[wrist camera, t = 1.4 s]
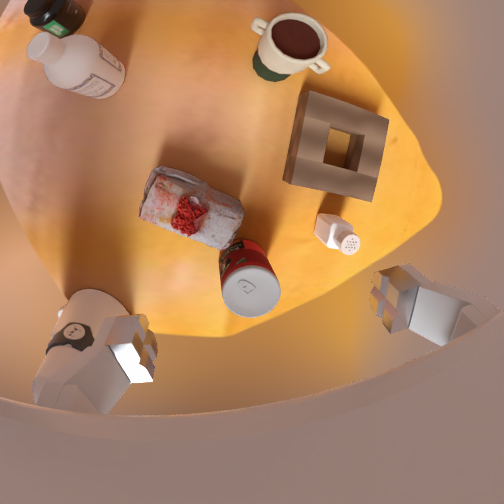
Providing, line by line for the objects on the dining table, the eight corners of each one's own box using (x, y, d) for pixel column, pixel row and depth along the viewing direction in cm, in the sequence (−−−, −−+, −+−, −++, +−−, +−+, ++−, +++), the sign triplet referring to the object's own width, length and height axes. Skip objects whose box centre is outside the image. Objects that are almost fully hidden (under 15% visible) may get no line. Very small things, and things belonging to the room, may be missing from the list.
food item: (144, 208, 39) (127, 228, 30) (162, 159, 37) (147, 165, 28) (224, 238, 43) (229, 264, 34) (245, 192, 41) (256, 207, 32)
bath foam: (97, 56, 28) (32, 14, 10) (133, 63, 30) (80, 13, 12) (80, 95, 30) (2, 77, 12) (115, 103, 32) (46, 81, 14)
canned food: (233, 228, 43) (242, 257, 33) (274, 251, 46) (293, 284, 36) (209, 267, 45) (210, 304, 35) (249, 287, 48) (260, 325, 38)
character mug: (312, 69, 34) (352, 47, 23) (289, 100, 36) (322, 86, 24) (255, 31, 31) (274, -7, 19) (228, 62, 33) (238, 30, 21)
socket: (358, 196, 44) (371, 202, 40) (282, 179, 41) (290, 184, 37) (374, 120, 39) (389, 119, 35) (299, 94, 36) (309, 90, 32)
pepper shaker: (333, 236, 46) (359, 258, 38) (312, 234, 45) (335, 257, 37) (337, 214, 45) (365, 232, 36) (316, 211, 44) (342, 230, 35)
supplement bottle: (74, 40, 25) (40, 18, 15) (47, 40, 24) (11, 22, 13) (92, 7, 23) (65, -21, 12) (64, 8, 21) (33, -15, 11)
